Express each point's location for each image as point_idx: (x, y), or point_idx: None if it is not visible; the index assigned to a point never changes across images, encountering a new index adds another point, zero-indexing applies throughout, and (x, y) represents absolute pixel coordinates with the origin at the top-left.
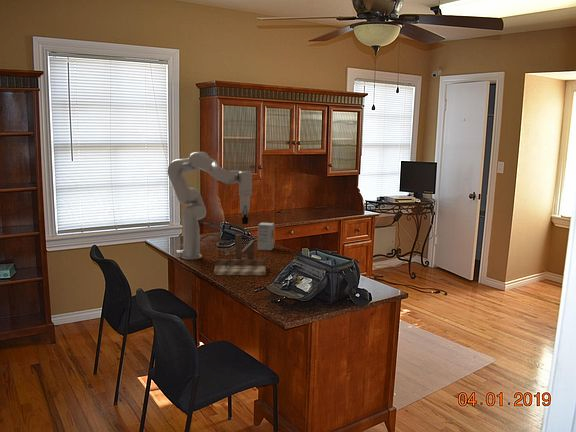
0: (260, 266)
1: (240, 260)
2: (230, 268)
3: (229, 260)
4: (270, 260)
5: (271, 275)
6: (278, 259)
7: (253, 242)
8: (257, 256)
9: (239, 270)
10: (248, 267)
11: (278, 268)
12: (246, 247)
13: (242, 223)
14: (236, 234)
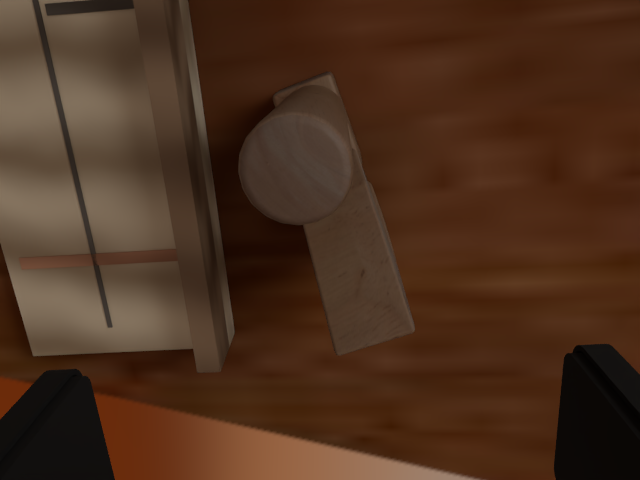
0: (172, 314)
1: (161, 153)
2: (45, 60)
3: (141, 34)
4: (477, 366)
5: None
6: (510, 421)
7: (332, 339)
8: (621, 263)
9: (6, 151)
10: (119, 221)
11: (246, 419)
12: (334, 230)
13: (49, 376)
14: (289, 127)
